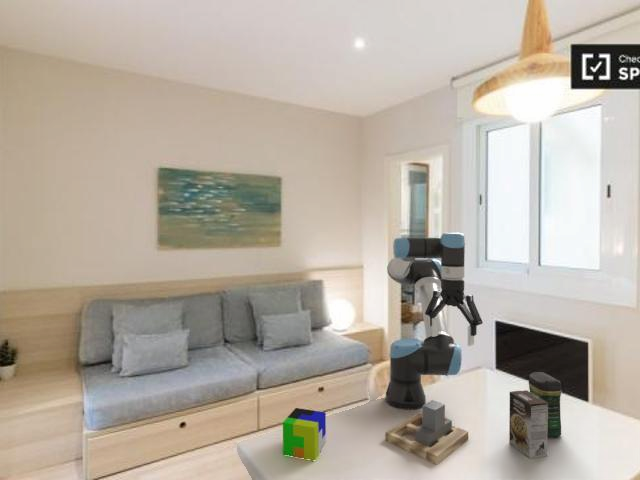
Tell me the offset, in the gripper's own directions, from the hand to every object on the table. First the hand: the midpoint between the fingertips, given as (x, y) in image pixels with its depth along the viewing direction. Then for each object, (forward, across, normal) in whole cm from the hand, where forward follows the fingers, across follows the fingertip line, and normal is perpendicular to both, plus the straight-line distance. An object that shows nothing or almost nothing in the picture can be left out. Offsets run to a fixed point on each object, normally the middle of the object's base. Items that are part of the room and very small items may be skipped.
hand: (452, 340), depth 135 cm
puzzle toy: (+28, -20, -49) cm, 60 cm away
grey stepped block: (+28, +4, -16) cm, 32 cm away
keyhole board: (+28, +1, -16) cm, 33 cm away
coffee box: (+28, +24, +2) cm, 37 cm away
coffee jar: (+29, +23, +17) cm, 41 cm away
